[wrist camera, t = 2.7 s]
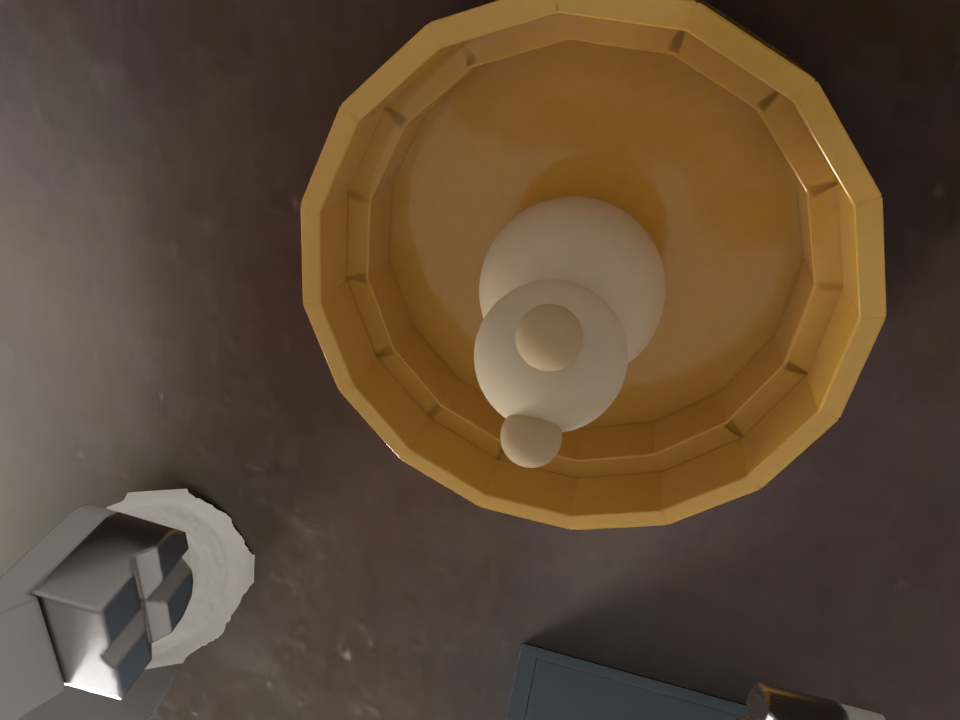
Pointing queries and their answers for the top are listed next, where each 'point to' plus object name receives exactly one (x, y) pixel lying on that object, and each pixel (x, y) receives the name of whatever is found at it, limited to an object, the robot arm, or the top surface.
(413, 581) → the top surface
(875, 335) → the bowl
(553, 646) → the top surface
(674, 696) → the bin
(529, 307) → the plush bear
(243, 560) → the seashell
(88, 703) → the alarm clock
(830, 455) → the top surface
